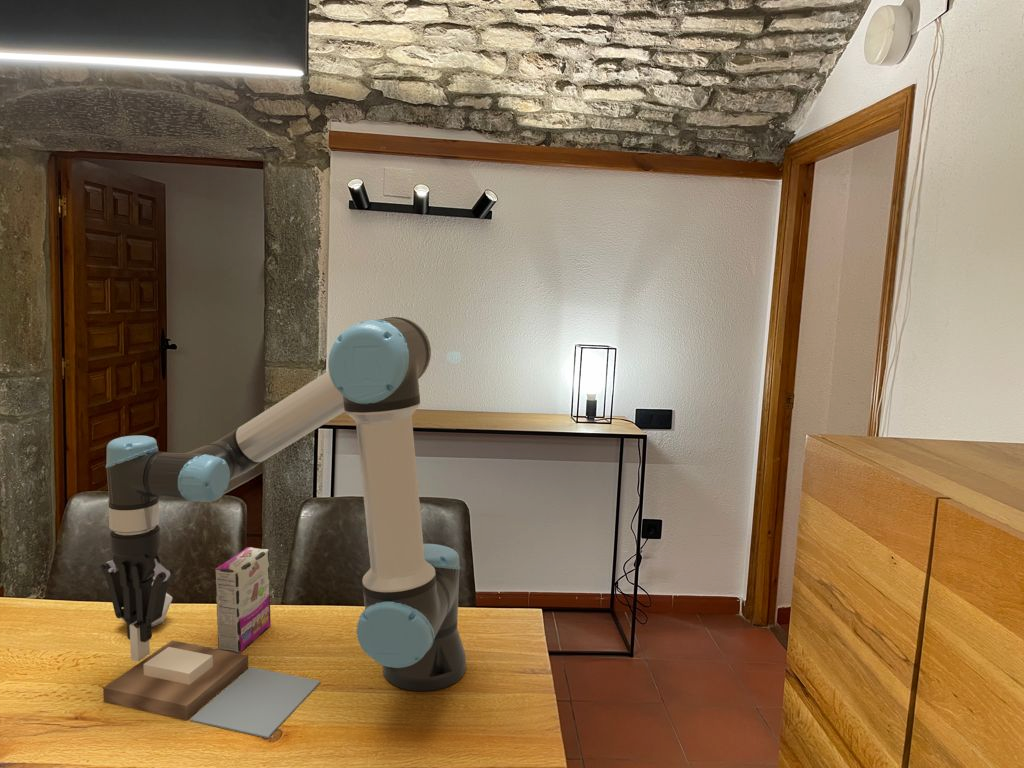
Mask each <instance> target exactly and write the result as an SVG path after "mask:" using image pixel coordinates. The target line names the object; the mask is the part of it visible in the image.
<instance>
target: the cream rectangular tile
mask: <svg viewBox="0 0 1024 768" xmlns="http://www.w3.org/2000/svg"><path fill="white" fill-rule="evenodd" d="M143 666H144V675H145V676H150V677H155V678H160V679H164V680H169V681H174V682H179V683H183V684H188V685H190V684H191V683H192V682H194V681H195V680H196V679H197V678H199V677H200V676H201V675H202V674H204V673H205V672H206V671H207V670H209V669H210V668H211V667H213V655H208V654H203V653H198V652H193V651H187V650H182V649H177V648H172V647H168V648H166V649H165V650H163V651H162V652H160V653H159V654H158V655H156V656H155V657H153V658H152V659H150V660H149V661H147V662H146V663H145V664H143Z"/></svg>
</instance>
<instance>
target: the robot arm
mask: <svg viewBox="0 0 1024 768" xmlns="http://www.w3.org/2000/svg"><path fill="white" fill-rule="evenodd" d="M431 347H432V346H431V343H430V340H429V337H428V335H427V334H426V333H425V331H424V329H422V327H421V326H420V325H418V324H417V323H415V322H414V321H413V320H411V319H407V318H404V317H399V316H392V317H385V318H379V319H369V320H363V321H360V322H358V323H355V324H354V325H353V326H352V325H351V326H350V327H348V328H347V329H345V330H344V331H342V332H341V333H340V334H339V335H338V336H337V338H336V339H335V340H334V342H333V344H332V346H331V348H330V351H329V354H328V362H327V364H328V365H327V366H328V368H327V369H328V371H326V372H325V373H323V374H321V375H319V376H318V377H316V378H315V379H313V380H312V381H310V382H308V383H307V384H305V385H304V386H302V387H301V388H299V389H298V390H296V391H294V392H292V393H291V394H289V395H288V396H287V397H285V398H283V399H282V400H280V401H278V403H275V404H273V405H272V406H271V407H269V408H267V409H266V410H264V411H263V412H261V413H259V414H258V415H257V416H255V417H253V418H251V419H250V420H249V421H247V422H246V423H244V424H242V425H241V426H239V427H238V428H236V429H234V430H233V431H231V432H229V433H228V434H226V435H225V436H222V437H221V438H220V439H217V440H215V441H213V442H211V443H209V444H206V445H203V446H201V447H197V448H196V449H193V450H191V451H188V452H183V453H180V452H168V451H160V450H159V447H158V444H157V443H158V442H157V439H156V438H154V437H152V436H148V435H127V436H126V435H125V436H121V437H117V438H114V439H112V440H109V442H108V444H107V445H106V465H105V469H106V480H107V492H108V520H109V521H108V525H109V530H111V531H110V533H109V545H110V552H111V554H113V555H112V559H111V560H109V561H107V562H104V563H102V564H101V565H100V570H101V571H102V573H103V575H104V577H105V579H106V582H107V587H108V591H109V595H110V599H111V603H112V606H113V607H112V608H113V612H114V614H115V617H116V618H117V619H121V618H123V619H124V620H125V622H126V623H125V622H124V623H125V624H126V633H127V639H128V640H130V642H129V646H130V661H133V662H141V661H142V660H144V659H145V658H147V657H148V656H150V655H151V650H150V648H151V646H150V640H151V639H152V638H153V637H152V636H153V633H152V632H153V631H152V630H153V629H152V628H153V627H152V623H153V622H154V621H156V620H158V619H159V618H161V617H162V613H163V608H164V602H165V597H166V593H167V591H168V585H169V581H170V579H171V578H172V576H173V575H174V570H173V568H171V567H169V568H167V569H166V568H165V566H163V565H162V564H161V562H162V561H161V558H160V556H159V552H158V551H159V549H160V548H161V528H160V527H161V526H159V523H160V500H159V498H164V499H170V500H171V499H172V500H182V501H190V502H192V503H193V502H195V503H200V502H211V503H212V502H215V501H217V500H218V501H219V500H220V499H221V498H222V497H223V496H224V492H226V491H227V489H228V487H229V483H230V481H231V480H232V481H233V480H235V479H236V478H238V477H240V476H243V475H245V474H247V473H249V472H251V471H252V470H253V469H255V467H257V466H259V465H260V464H261V463H262V462H264V461H267V459H269V458H271V457H272V456H274V455H276V454H277V453H278V452H280V451H282V450H284V449H286V448H287V447H289V446H291V445H292V444H294V443H296V441H298V440H301V439H302V438H304V437H306V436H307V435H308V434H310V433H312V432H313V431H315V430H316V429H318V428H320V427H322V426H324V425H325V424H326V423H328V422H329V421H331V420H333V419H335V418H337V417H338V416H339V415H341V414H343V413H345V414H347V415H348V416H349V417H350V418H351V419H353V420H354V421H355V426H356V438H357V444H358V445H357V446H358V455H359V463H360V464H359V465H360V473H361V484H362V494H363V504H364V514H365V523H366V532H367V533H366V534H367V541H368V542H367V543H368V553H369V554H368V555H369V563H370V568H369V569H368V571H367V572H366V573H365V574H364V575H363V577H362V589H363V590H362V592H363V601H364V610H363V611H362V612H361V613H360V615H359V616H358V617H359V618H358V621H357V624H356V637H357V641H358V643H359V646H360V648H361V649H362V650H363V652H364V653H365V655H367V657H369V658H371V659H372V660H374V661H375V663H377V664H379V665H381V666H382V674H383V677H384V678H385V679H386V681H388V682H389V683H390V684H392V685H393V686H395V687H397V688H400V689H403V690H408V691H414V692H430V691H437V690H441V689H444V688H445V689H446V688H447V687H450V686H452V685H454V684H455V683H457V682H458V681H459V680H461V678H463V676H464V674H465V672H466V669H467V668H466V667H467V663H466V662H467V658H466V651H465V648H464V646H463V642H462V639H461V636H460V633H459V629H458V619H459V617H458V616H459V615H458V613H459V590H460V589H459V587H460V570H461V566H460V555H459V554H458V551H456V550H455V549H453V548H451V547H448V546H446V545H441V544H436V543H424V537H423V525H422V515H421V513H422V512H421V503H420V493H419V481H418V471H417V470H418V469H417V459H416V450H415V449H416V448H415V436H414V427H413V417H412V416H413V415H414V413H415V412H416V411H417V410H418V408H419V407H420V405H421V396H420V395H421V394H420V385H419V379H421V377H423V375H424V374H425V373H426V371H427V369H428V367H429V365H430V362H431V359H432V358H431V357H432V351H431V350H432V348H431ZM152 583H153V584H152ZM122 607H123V609H122Z"/></svg>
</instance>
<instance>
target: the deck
mask: <svg viewBox="0 0 1024 768" xmlns="http://www.w3.org/2000/svg"><path fill="white" fill-rule="evenodd" d="M168 647H172V648H177V649H182V650H187V651H193V652H198V653H203V654H208V655H213V667H211V668H210V669H209V670H207V671H206V672H205V673H204V674H202V675H201V676H200V677H199V678H197V679H196V680H195V681H194V682H192V683H191V684H190V685H188V684H183V683H179V682H174V681H169V680H164V679H160V678H155V677H150V676H145V675H144V666H143V664H145V663H146V662H147V661H149V660H150V659H152V658H153V657H155V656H156V655H158V654H159V653H160V652H162V651H163V650H165V649H166V648H168ZM248 669H249V654H244V653H237V652H231V651H224V650H219V649H218V648H213V647H207V646H204V645H196V644H194V643H193V644H192V643H187V642H182V641H177V640H170V641H169V642H168V643H166V644H165V645H163V646H161V647H160V648H159V649H158V650H156V651H155V652H153V653H152V654H149V655H148V656H146V657H145V658H143V659H142V660H140V661H139V663H136V665H133V667H131V668H129V669H128V670H126V671H125V672H124V673H122V674H121V675H119V676H117V678H115V679H113V680H112V681H111V682H109V683H108V684H105V686H104V687H102V688H103V689H102V690H103V691H102V692H103V693H102V694H103V702H104V703H108V704H114V705H117V706H122V707H126V708H131V709H136V710H139V711H144V712H148V713H153V714H157V715H161V716H166V717H171V718H175V719H180V720H183V721H184V720H185V721H188V720H190V719H191V718H192V717H193V716H194V715H195V714H197V713H198V712H199V711H200V710H201V709H202V708H203V707H205V706H206V705H207V704H208V703H209V702H210V701H212V700H213V699H214V698H215V697H216V696H217V695H219V694H220V693H221V692H222V691H223V690H224V689H226V688H227V687H228V686H229V685H230V684H231V683H233V682H234V681H235V680H236V679H237V678H238V677H239V676H241V675H242V674H243V673H244V672H245V671H246V670H248Z"/></svg>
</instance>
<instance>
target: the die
mask: <svg viewBox="0 0 1024 768" xmlns="http://www.w3.org/2000/svg"><path fill="white" fill-rule="evenodd" d="M152 584H153V583H152ZM172 601H173V597H172V596H171V595H170V594H169V593H167V592H166V597H165V602H164V608H163V613H162V617H161V618H159V619H158V620H156V621H154V622H153V623H152V628H153V627H154V626H158V625H160V624H163V623H164V621H165V619H166V615H167V613H168V611H169V608H170V605H171V603H172ZM122 609H123V607H122ZM120 619H121V621H123V622H124V624H127V623H126V622H125V620H124V619H123V618H120Z"/></svg>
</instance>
